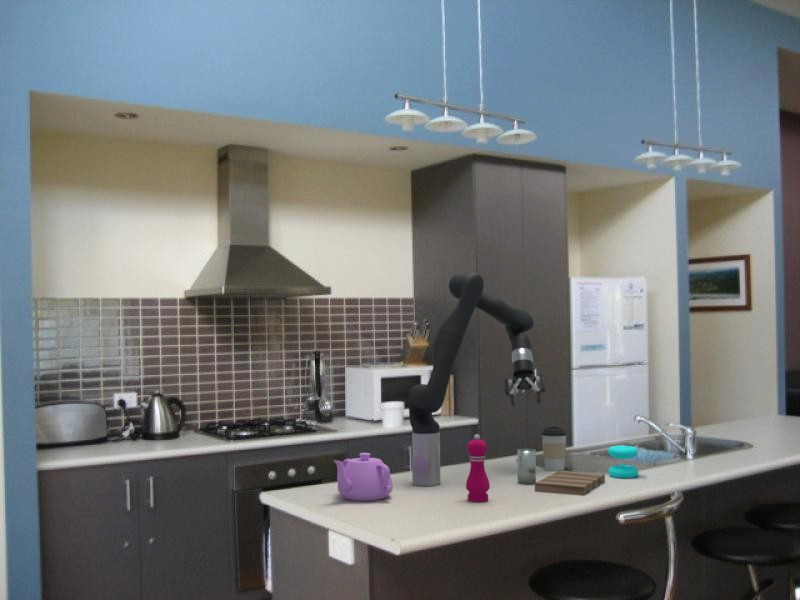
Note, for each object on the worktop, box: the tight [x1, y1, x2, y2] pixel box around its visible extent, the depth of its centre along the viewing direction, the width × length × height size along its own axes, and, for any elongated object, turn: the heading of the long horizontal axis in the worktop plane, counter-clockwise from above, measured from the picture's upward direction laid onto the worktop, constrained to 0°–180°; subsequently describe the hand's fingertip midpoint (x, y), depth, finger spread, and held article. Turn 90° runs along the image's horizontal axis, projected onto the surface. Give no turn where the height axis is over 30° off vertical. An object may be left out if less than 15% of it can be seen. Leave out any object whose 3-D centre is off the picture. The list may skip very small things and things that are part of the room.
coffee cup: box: [541, 426, 568, 472], centre depth 313 cm, size 9×9×15 cm
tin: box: [516, 448, 537, 486], centre depth 288 cm, size 6×6×11 cm
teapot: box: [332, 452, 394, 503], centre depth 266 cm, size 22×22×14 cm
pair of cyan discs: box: [607, 445, 639, 479], centre depth 297 cm, size 10×10×10 cm
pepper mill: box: [465, 433, 491, 503], centre depth 262 cm, size 7×7×20 cm
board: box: [534, 470, 606, 496], centre depth 280 cm, size 24×16×2 cm, turn 152°
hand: (526, 404), depth 302 cm, fingers open, 8 cm apart
